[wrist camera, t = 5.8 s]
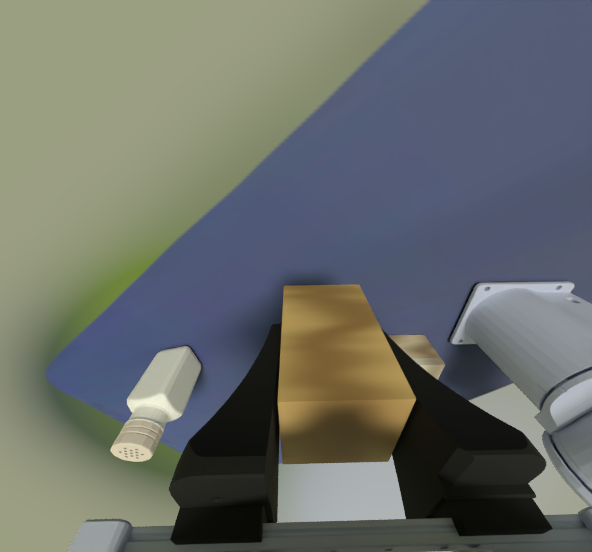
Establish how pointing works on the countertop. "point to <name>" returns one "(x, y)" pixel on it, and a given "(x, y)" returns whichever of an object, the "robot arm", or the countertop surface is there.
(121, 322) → the countertop surface
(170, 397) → the pepper shaker
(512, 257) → the countertop surface
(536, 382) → the robot arm
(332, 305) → the ochre peg
